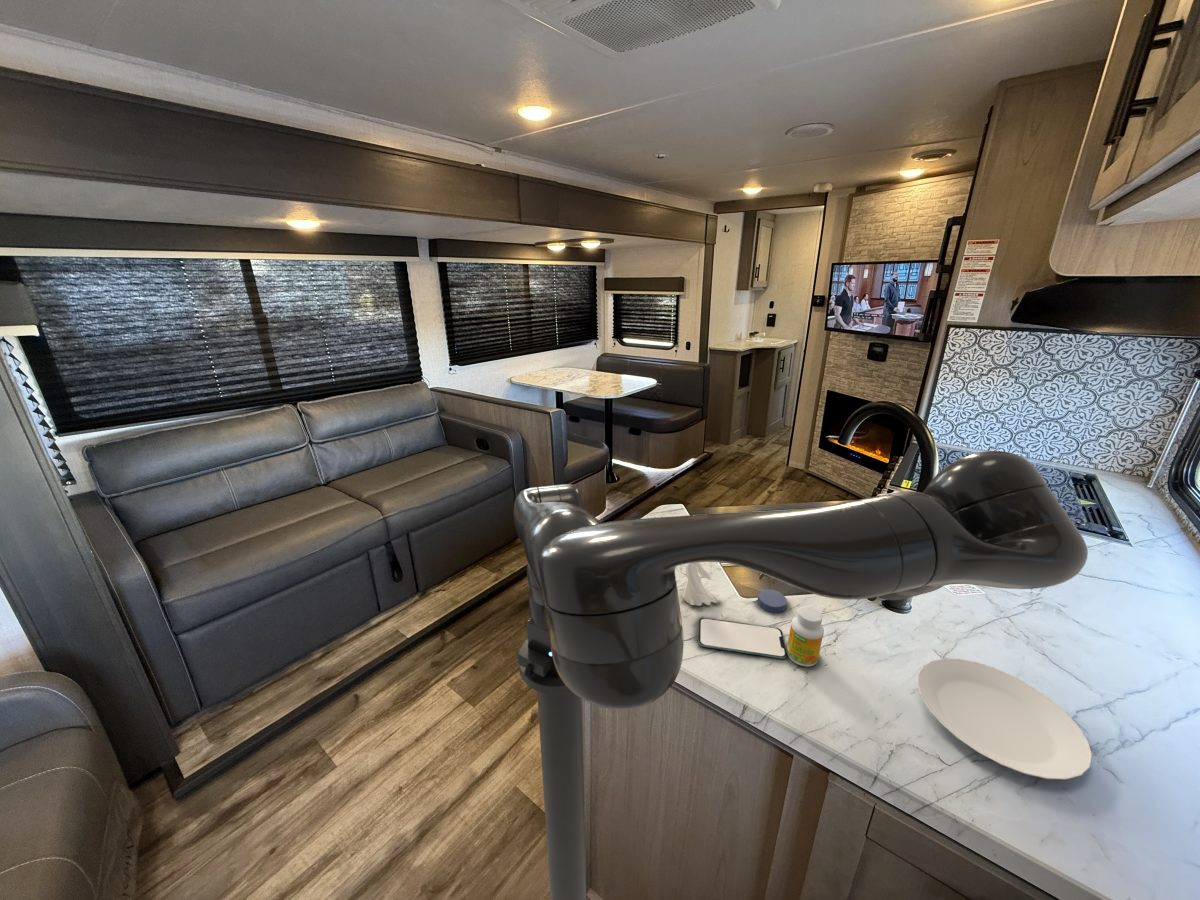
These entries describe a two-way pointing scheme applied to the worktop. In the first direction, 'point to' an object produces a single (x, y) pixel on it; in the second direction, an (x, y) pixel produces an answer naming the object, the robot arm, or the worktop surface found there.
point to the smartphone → (742, 638)
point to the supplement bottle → (805, 636)
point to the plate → (1004, 719)
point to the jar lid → (772, 601)
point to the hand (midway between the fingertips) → (848, 582)
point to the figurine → (696, 586)
